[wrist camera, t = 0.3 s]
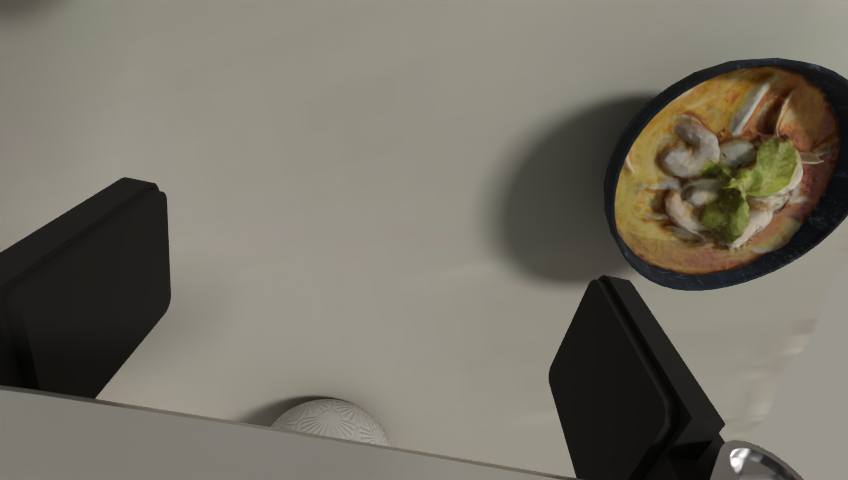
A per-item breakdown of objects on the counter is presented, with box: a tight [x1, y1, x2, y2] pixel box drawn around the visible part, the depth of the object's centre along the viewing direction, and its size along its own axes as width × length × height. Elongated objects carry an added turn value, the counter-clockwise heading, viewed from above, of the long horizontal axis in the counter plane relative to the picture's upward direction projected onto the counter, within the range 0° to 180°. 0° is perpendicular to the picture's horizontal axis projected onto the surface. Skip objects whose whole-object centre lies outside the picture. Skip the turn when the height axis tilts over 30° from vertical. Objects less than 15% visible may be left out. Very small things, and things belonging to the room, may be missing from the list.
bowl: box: [604, 58, 848, 291], centre depth 36 cm, size 17×17×10 cm
